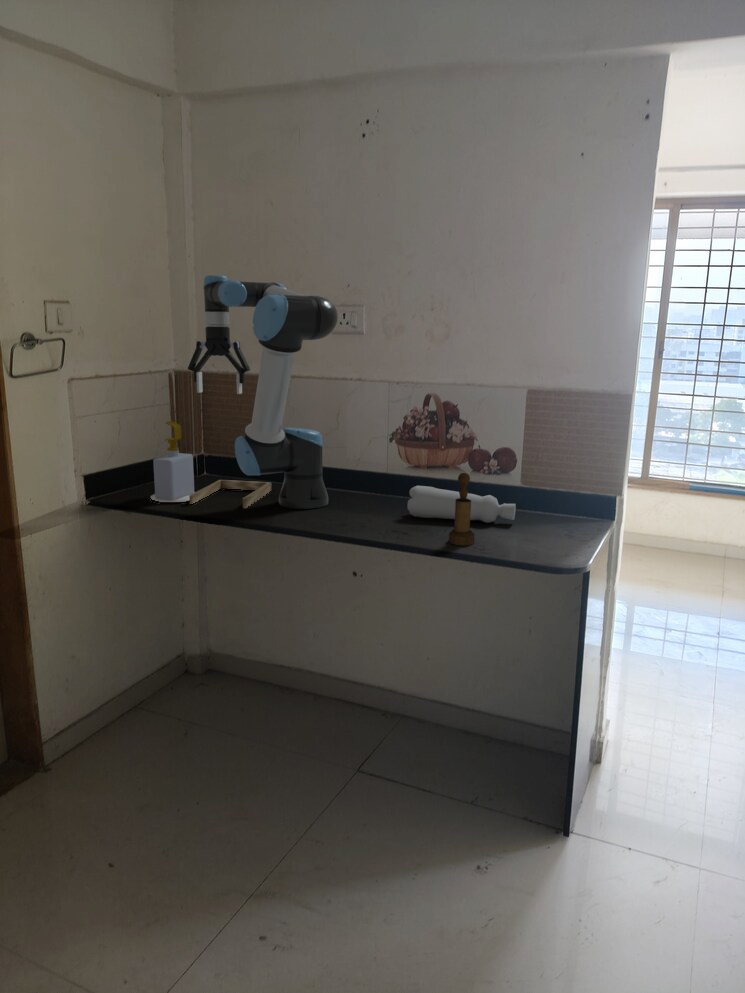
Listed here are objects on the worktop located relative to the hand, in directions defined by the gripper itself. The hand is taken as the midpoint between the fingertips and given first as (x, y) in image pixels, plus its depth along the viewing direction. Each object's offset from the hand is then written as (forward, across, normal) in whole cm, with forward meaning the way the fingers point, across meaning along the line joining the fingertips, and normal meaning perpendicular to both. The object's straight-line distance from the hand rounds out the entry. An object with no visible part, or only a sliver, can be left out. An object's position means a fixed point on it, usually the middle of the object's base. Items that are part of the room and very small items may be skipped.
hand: (219, 393), depth 247 cm
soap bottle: (+31, +9, +17) cm, 37 cm away
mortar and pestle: (+32, -83, +45) cm, 100 cm away
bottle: (+32, -81, +23) cm, 90 cm away
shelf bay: (+32, -8, +12) cm, 35 cm away
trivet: (+32, +9, +17) cm, 37 cm away
